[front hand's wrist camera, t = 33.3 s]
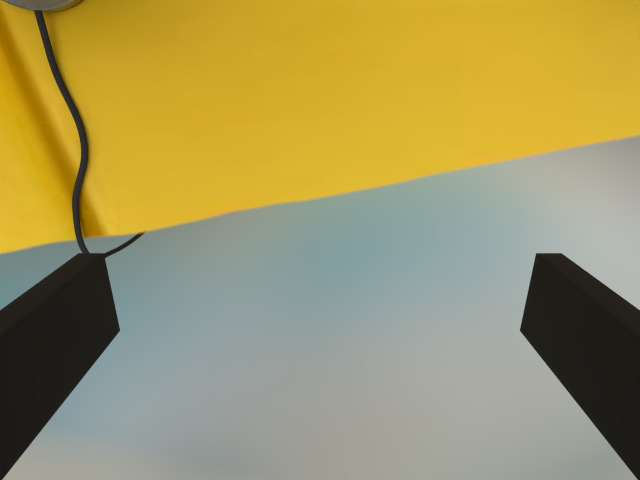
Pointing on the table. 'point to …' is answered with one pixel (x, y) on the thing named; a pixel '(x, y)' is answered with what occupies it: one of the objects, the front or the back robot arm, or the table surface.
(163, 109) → the table surface
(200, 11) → the table surface
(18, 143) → the table surface
